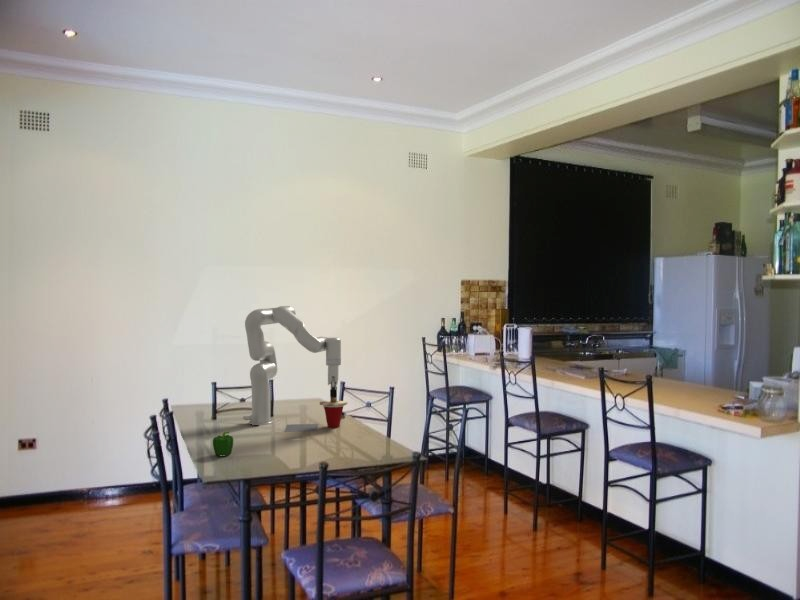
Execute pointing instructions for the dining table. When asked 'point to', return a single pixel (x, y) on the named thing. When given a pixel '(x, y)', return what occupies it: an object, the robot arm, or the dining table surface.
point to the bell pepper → (223, 444)
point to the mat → (301, 427)
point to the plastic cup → (333, 415)
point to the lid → (333, 402)
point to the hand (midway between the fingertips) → (333, 395)
